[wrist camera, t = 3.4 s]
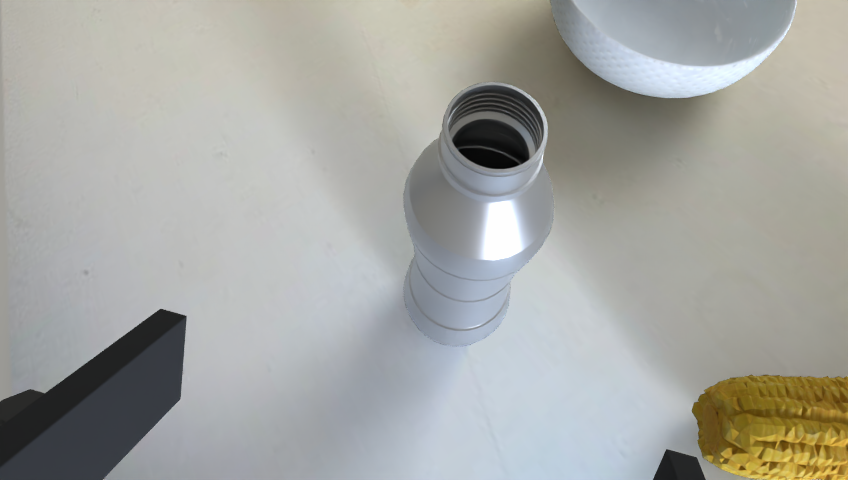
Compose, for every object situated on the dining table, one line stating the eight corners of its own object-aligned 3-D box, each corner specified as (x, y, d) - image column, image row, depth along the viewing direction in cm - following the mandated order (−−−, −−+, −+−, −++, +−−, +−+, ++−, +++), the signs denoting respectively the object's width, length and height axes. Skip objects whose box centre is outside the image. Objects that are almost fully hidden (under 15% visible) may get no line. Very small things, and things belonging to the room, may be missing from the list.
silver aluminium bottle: (493, 250, 40) (567, 39, 21) (512, 349, 37) (613, 205, 19) (398, 260, 39) (390, 53, 21) (409, 361, 37) (411, 225, 18)
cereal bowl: (787, 95, 46) (851, 28, 39) (596, 157, 43) (630, 97, 36) (676, -54, 52) (714, -133, 45) (503, -8, 49) (517, -85, 43)
